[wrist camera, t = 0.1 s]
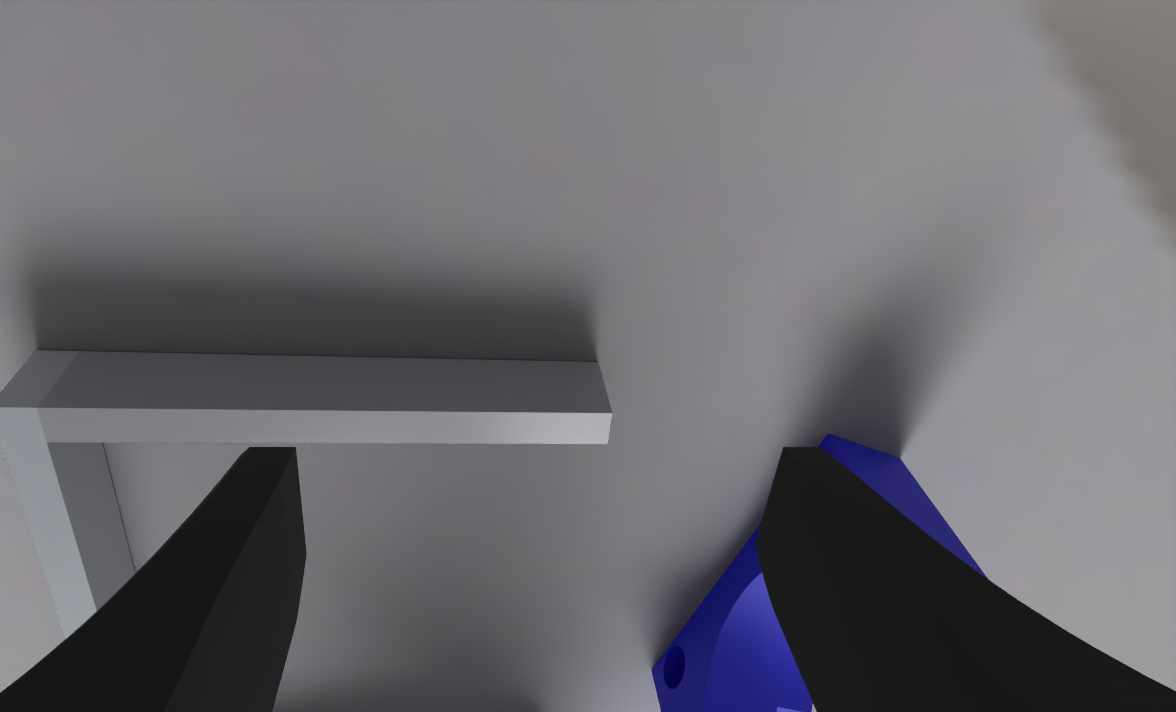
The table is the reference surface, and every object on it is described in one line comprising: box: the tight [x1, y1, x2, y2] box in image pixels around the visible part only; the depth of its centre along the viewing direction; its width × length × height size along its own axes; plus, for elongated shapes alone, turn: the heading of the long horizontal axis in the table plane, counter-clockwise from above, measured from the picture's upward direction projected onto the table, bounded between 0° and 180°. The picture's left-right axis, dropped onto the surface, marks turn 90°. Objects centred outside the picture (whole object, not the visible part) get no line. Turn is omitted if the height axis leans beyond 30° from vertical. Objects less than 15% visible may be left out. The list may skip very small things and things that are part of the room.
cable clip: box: [652, 434, 988, 712], centre depth 27 cm, size 12×4×6 cm, turn 153°
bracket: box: [0, 350, 612, 639], centre depth 25 cm, size 18×14×2 cm
